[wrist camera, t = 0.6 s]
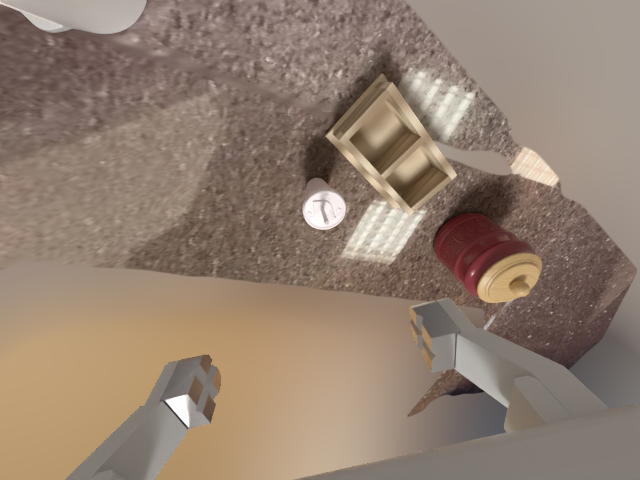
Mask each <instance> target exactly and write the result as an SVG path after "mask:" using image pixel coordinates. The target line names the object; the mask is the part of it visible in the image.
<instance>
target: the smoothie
mask: <svg viewBox="0 0 640 480" xmlns="http://www.w3.org/2000/svg"><path fill="white" fill-rule="evenodd" d="M345 212H346V205H345V202H344V199H343V197H342V196H341V195H340V193H338V192H337V191H335V190H333V189H332V188H331V187H330V186H329V185H328V184H327V183H326V182H325V181H324V180H323V179H321V178H313V179H311V180H310V181H309V182H308V183H307V186H306V198H305V201H304V204H303V215H304V217H305V220H306V221H307V223H308V224H309V225H311V226H312V227H314V228H316V229H322V230H324V229H330V228H333V227H335V226H336V225H338V224H339V223H340V222H341V221H342V219H343V217H344V215H345Z"/></svg>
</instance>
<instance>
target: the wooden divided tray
mask: <svg viewBox="0 0 640 480" xmlns="http://www.w3.org/2000/svg"><path fill="white" fill-rule="evenodd" d="M325 136H326V137H327V138H328V139H329V140H330V141H331V142H332V143H333V145H334V146H335V147H336V148H337V149H338V150H339V151H340V152H341V153H342V154H343V155H344V156H345V157H346V158H347V159H348V160H349V161H350V162H351V163H352V164H353V165H354V167H355V168H356V169H357V170H358V171H359V172H360V173H361V174H362V175H363V176H364V177H365V178H366V179H367V180H368V181H369V182H370V183H371V184H372V185H373V186H374V187H375V189H376V190H377V191H378V192H379V193H380V194H381V195H382V196H383V197H384V198H385V199H386V200H387V201H388V202H389V203H390V204H391V205H392V206H393V207H394V208H395V209H396V208H398V207H399V206H400V207H401V208H402V209H403V210H404V211H405V212H406V213H407V214H408V215H409V216H410V215H411V214H412V213H414V212H415V211H416V210H417V209H418V208H419V207H421V206H422V205H423V204H424V203H425V202H427V201H428V200H429V199H430V198H431V197H432V196H434V195H435V194H436V193H437V192H438V191H439V190H441V189H442V188H443V187H444V186H445V185H446V184H448V183H449V182H450V181H451V180H452V179H453V178H455V177H456V176H457V174H456V173H455V172H454V170H453V169H452V167H451V166H450V164H449V163H448V161H447V160H446V159H445V157H444V156H443V154H442V153H441V151H440V150H439V149H438V147H437V146H436V145H435V143H434V141H433V140H432V138H431V137H430V136H429V134H428V133H427V131H426V130H425V128H424V127H423V125H422V124H421V123H420V121H419V120H418V118H417V117H416V115H415V114H414V112H413V111H412V110H411V108H410V107H409V105H408V104H407V102H406V101H405V99H404V98H403V97H402V95H401V94H400V92H399V91H398V89H397V88H396V86H395V85H394V84H393V82H388V80H387V79H386V77H385V76H384V75H383V73H381V74H380V75H379V76H378V77H377V78H376V79H375V80H374V81H373V82H372V83H371V85H370V86H369V87H368V88H367V89H366V90H365V91H364V92H363V93H362V95H361V96H360V97H359V98H358V99H357V100H356V101H355V102H354V104H353V105H352V106H351V107H350V108H349V109H348V110H347V111H346V112H345V114H344V115H343V116H342V117H341V118H340V119H339V120H338V121H337V123H336V124H335V125H334V126H333V127H332V128H331V129H330V130H329V131H328V133H327V134H326V135H325Z"/></svg>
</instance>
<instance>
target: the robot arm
mask: <svg viewBox="0 0 640 480" xmlns="http://www.w3.org/2000/svg"><path fill="white" fill-rule="evenodd" d="M146 2H147V0H0V4H2V5H5V6H8V7H10V8H13V9H16V10H18V11H20V12H21V13H22V14H23V15H24V16H26V17H27V18H28V19H29V20H30V21H31V22H32V23H33V24H34V25H35V26H37V27H38V28H40V29H42V30H45V31H47V32H51V33H57V32H62V31H66V30H70V29H79V30H84V31H88V32H92V33H98V34H111V33H117V32H120V31H123V30H125V29H127V28H128V27H130V26H131V25H132V24H134V23H135V22H136V21H137V19H138V18H139V17H140V15H141V14H142V12H143V10H144V8H145V5H146ZM409 314H410V316H411V318H412V320H411V322H410V327H411V332H412V335H413V338H414V340H415V342H416V344H417V346H418V347H419V348H421V349H422V350H423V357H424V359H425V361H426V363H427V365H428V367H429V369H430V370H431V372H432V373H434V372H439V371H444V370H449V369H454V368H455V370H457V371H458V372H459V373H461V374H462V375H463V376H465V377H466V378H468V379H469V380H470V381H472V382H473V383H474V384H476V385H477V386H478V387H480V388H481V389H483V390H484V391H485V392H487V393H488V394H489V395H491V396H492V397H493V398H495V399H496V400H498V401H499V402H500V403H502V404H503V405H504V406H506V407H507V408H508V410H507V415H506V419H505V423H504V429H505V430H506V432H507V433H503V434H498V435H494V436H489V437H485V438H480V439H476V440H471V441H466V442H462V443H457V444H453V445H449V446H444V447H439V448H435V449H430V450H426V451H421V452H417V453H412V454H408V455H403V456H399V457H394V458H390V459H386V460H381V461H376V462H372V463H367V464H363V465H358V466H353V467H349V468H345V469H340V470H335V471H331V472H326V473H322V474H317V475H313V476H308V477H304V478H300V479H295V480H640V403H638V404H633V405H629V406H624V407H620V408H616V409H611V410H610V409H609V408H608V407H607V406H606V405H605V404H604V403H603V402H602V401H600V400H599V399H598V398H597V397H596V396H595V395H594V394H593V393H592V392H591V391H590V390H589V389H587V387H585V386H584V385H583V384H582V383H581V382H580V381H579V380H578V379H577V378H576V377H575V376H573V374H572V373H570V372H569V371H568V370H567V369H566V368H565V367H564V366H562V365H560V364H558V363H556V362H553V361H551V360H549V359H547V358H545V357H543V356H540V355H538V354H536V353H534V352H532V351H530V350H527V349H525V348H523V347H521V346H519V345H516V344H514V343H512V342H510V341H508V340H506V339H503V338H501V337H499V336H497V335H495V334H493V333H490V332H488V331H486V330H484V329H482V328H479V329H476V328H475V327H474V325H473V324H472V323H471V322H470V321H469V320H468V318H467V317H466V316H465V315H464V314H463V313H462V311H461V310H460V309H459V308H458V307H457V306H456V304H455V303H454V302H453V301H452V300H451V299H450V298H444V299H439V300H435V301H431V302H427V303H423V304H419V305H415V306H411V307H410V308H409ZM211 362H212V359H211V358H210V356H209V355H201V356H197V357H192V358H187V359H182V360H179V361H173V362H169V363H168V364H167V365H166V366H165V367H164V369H163V371H162V373H161V375H160V377H159V379H158V380H157V382H156V384H155V386H154V388H153V390H152V392H151V394H150V396H149V398H148V400H147V401H146V403H145V405H144V406H140V407H139V408H138V409H137V410H136V411H135V412H134V413H133V414H132V415H131V416H130V417H129V418H128V419H127V420H126V421H125V422H124V423H123V424H122V425H121V426H120V427H119V428H118V429H117V430H116V431H115V432H113V433H112V434H111V435H110V436H109V438H107V439H106V440H105V441H104V442H103V443H102V444H101V445H100V446H99V447H98V448H97V449H96V450H95V451H94V452H93V453H92V454H91V455H90V456H89V457H88V458H87V459H86V460H85V461H84V462H83V463H82V464H80V465H79V467H77V468H76V469H75V470H74V471H73V472H72V473H71V474H70V475H69V476H68V477H67V478H66V480H154V479H155V477H156V476H157V475H158V473H159V472H160V470H161V469H162V468H163V466H164V465H165V463H166V462H167V460H168V459H169V457H170V456H171V455H172V453H173V452H174V450H175V449H176V447H177V446H178V445H179V443H180V442H181V440H182V439H183V437H184V436H185V435H186V433H187V432H188V429H190V428H194V427H198V426H202V425H205V424H209V423H211V419H212V416H213V412H214V409H215V402H214V400H213V399H214V398H215V396H216V395H217V394H218V393H219V390H220V386H221V375H220V372H219V370H218V368H217V367H215V366H213V365H211Z"/></svg>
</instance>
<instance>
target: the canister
mask: <svg viewBox="0 0 640 480" xmlns="http://www.w3.org/2000/svg"><path fill="white" fill-rule="evenodd" d="M434 251H435V253H436V256H437V257H438V259H439V260H440V261H441V262H442V263H443V264H444V265H446V267H447V268H448V269H449V270H450V271H451V272H452V273H453V274H454V275H455V277H456V279H457V280H458V281H459V282H461V283H463V284H464V285H465V288H466V290H467V291H468V292H469V293H470V294H472V295H474V296H477V297H480V298H481V299H482V300H483V301H485V302H489V303H498V302H506V301H511V300H514V299H516V298H518V297H520V296H521V297H522V296H526V295H528V294H529V292H530V289H531V288H532V287H533V286H534V285H535V283H536V282H537V280H538V278H539V275H540V272H541V269H542V262H541V259H540V258H539V257H538V256H537V255H535V251H534V249H533V247H532V246H531V245H530V244H529V243H527V242H524V241H519V239H518V238H517V237H516V236H515V235H514V234H513V233H511V232H508V231H506V230H505V229H503V228H502V227H500V226H499V225H497V224H496V223H494V222H493V221H492V220H491V219H490V218H488V217H487V216H484V215H481V214H478V213H473V212H470V213H464V214H461V215H458V216H456V217H454V218H452V219H451V220H449V221H448V222H447V223H446V224H444V225H443V226H442V228H441V229H440V230H439V231H438V233H437V235H436V237H435V240H434Z"/></svg>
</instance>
